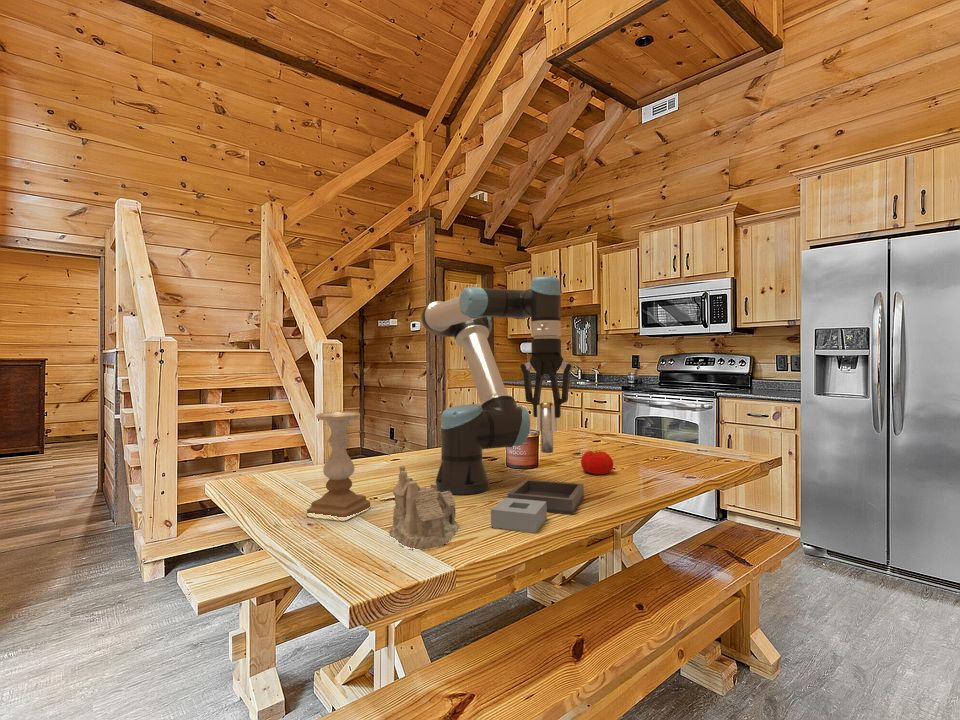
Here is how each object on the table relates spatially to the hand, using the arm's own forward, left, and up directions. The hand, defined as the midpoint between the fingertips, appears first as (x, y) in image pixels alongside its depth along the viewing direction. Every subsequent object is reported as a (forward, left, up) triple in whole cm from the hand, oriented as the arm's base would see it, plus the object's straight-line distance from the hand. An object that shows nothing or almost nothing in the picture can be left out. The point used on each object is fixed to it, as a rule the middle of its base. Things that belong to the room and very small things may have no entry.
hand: (547, 430), depth 129 cm
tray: (0, 0, -18) cm, 18 cm away
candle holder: (-45, -25, -19) cm, 55 cm away
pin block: (-2, -18, -18) cm, 26 cm away
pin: (0, 0, -6) cm, 6 cm away
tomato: (+7, +39, -19) cm, 44 cm away
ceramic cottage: (-18, -31, -19) cm, 41 cm away
